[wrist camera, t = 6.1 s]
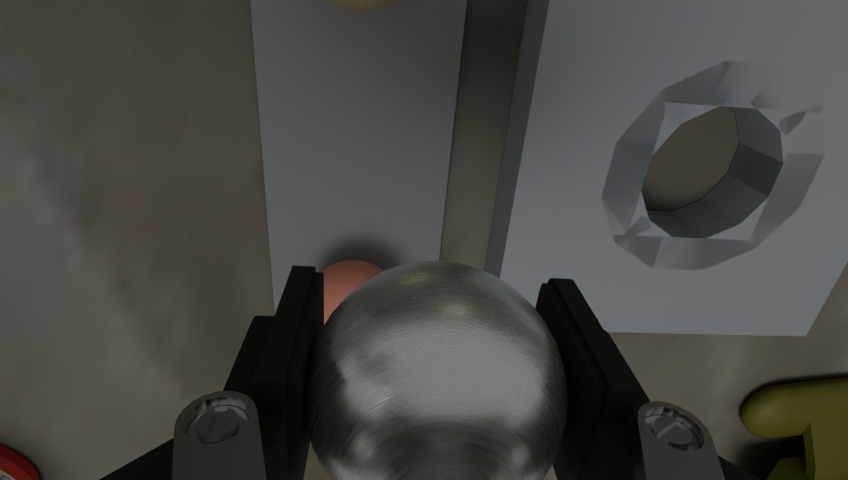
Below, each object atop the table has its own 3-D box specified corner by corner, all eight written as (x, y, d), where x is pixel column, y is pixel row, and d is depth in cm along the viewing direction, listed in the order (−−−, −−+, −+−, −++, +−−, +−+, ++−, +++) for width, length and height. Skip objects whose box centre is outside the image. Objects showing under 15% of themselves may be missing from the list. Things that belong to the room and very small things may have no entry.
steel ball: (321, 211, 11) (268, 381, 7) (548, 224, 12) (657, 391, 7) (322, 385, 14) (285, 601, 9) (510, 390, 14) (569, 597, 10)
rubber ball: (308, 240, 28) (292, 294, 23) (402, 244, 29) (406, 297, 24) (311, 317, 31) (297, 379, 26) (397, 319, 31) (400, 380, 27)
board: (538, -69, 22) (563, -77, 19) (931, -29, 24) (1012, -30, 21) (480, 295, 31) (490, 329, 28) (766, 303, 33) (805, 336, 30)
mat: (234, -222, 19) (232, -226, 19) (486, -191, 20) (487, -194, 20) (278, 340, 32) (277, 344, 32) (429, 342, 33) (429, 346, 33)
